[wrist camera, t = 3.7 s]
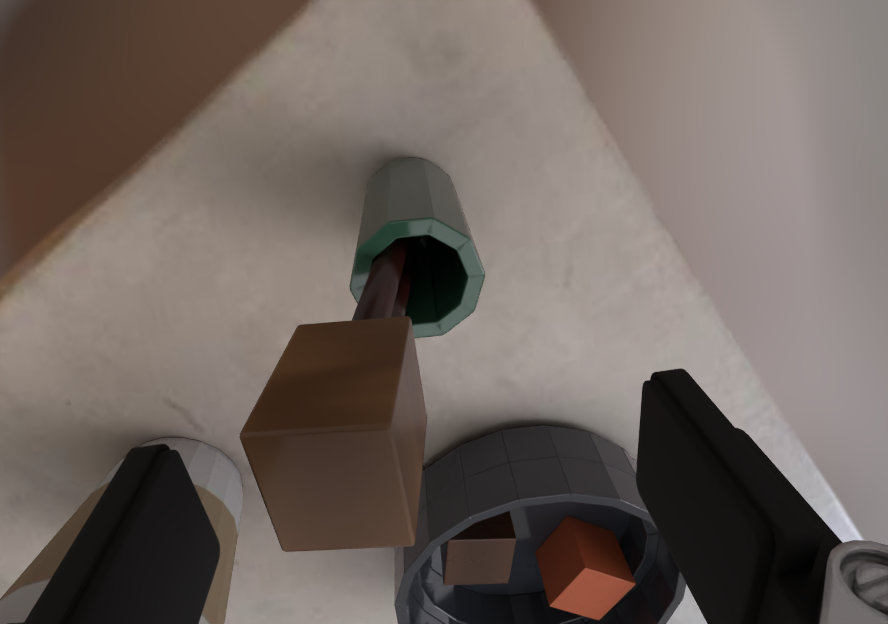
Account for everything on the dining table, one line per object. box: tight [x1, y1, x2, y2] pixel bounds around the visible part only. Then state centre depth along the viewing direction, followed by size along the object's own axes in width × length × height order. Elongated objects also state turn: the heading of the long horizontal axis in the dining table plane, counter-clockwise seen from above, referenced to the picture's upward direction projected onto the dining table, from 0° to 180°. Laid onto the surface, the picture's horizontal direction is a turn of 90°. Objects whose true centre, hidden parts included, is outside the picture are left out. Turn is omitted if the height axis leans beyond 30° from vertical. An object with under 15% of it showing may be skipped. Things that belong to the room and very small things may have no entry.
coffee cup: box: [0, 438, 243, 624], centre depth 27 cm, size 11×11×15 cm
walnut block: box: [440, 511, 516, 585], centre depth 34 cm, size 4×4×4 cm
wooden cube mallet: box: [240, 236, 427, 552], centre depth 18 cm, size 3×3×18 cm
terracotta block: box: [535, 516, 636, 620], centre depth 36 cm, size 4×4×4 cm
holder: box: [350, 157, 485, 338], centre depth 22 cm, size 4×5×9 cm
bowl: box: [395, 425, 686, 624], centre depth 35 cm, size 17×17×6 cm
